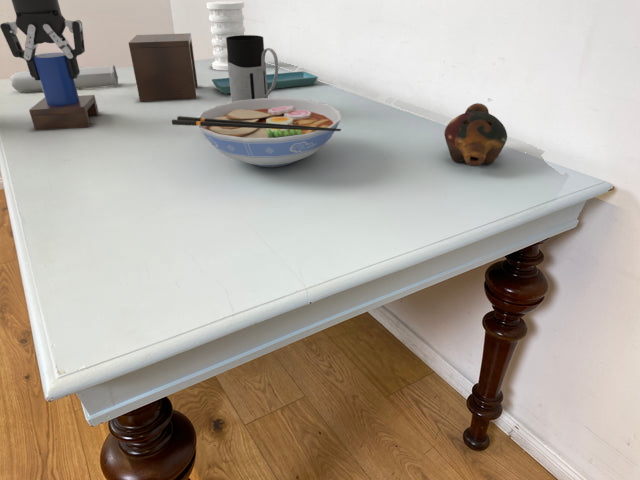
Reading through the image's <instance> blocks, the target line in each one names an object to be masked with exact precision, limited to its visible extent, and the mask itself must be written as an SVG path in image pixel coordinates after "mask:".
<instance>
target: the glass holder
mask: <svg viewBox="0 0 640 480" xmlns="http://www.w3.org/2000/svg"><path fill="white" fill-rule="evenodd" d="M226 42H227V53H228V56H227V61H228V71H227V72H228V78H229V81H230V91H231V93H230V103H231V102H235V101H240V100H250V99H260V98H269V96H270V94H271V93H272V92H273V91H274V90H275V89H274V87H275V84H276V81H277V77H278V73H279V60H278V59H279V58H278V55H277V53H276V51H275V50H274V48H270V47H266V48H265V44H264V43H265V42H264V37H263V36H261V35H257V34H256V35H255V34H244V35H239V36H231V37H227V38H226ZM268 51H269V52H270V53H271V55H272V56H273V59H274V60H273V61H274V73H273V74H274V79H273V83H272V86H271V88H270V89H268V90H267V76H266V75H267V64H266V54H267V52H268Z"/></svg>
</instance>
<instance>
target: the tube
mask: <svg viewBox="0 0 640 480" xmlns="http://www.w3.org/2000/svg"><path fill="white" fill-rule="evenodd" d="M79 70H80V73H79V75H78V77H77V78H76V79H74V81H75V85H76V89H88V88H103V87H118V86H119V77H118V73H117V69H116V66H115V64H111V65H104V66H88V67H79ZM10 82H11V87H12V88H13V89H14V90H15V91H17V92H19V93H34V92H43V89H42V85H41V82H40V80H35V78H34V77H32V76H31V75H30V72H29V70H28V71H27V70H25V71H16V72H15V73H13V74H12V75H10Z"/></svg>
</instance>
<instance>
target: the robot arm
mask: <svg viewBox="0 0 640 480" xmlns="http://www.w3.org/2000/svg"><path fill="white" fill-rule="evenodd" d="M11 3H12V7H13V11H14V13H15V21H11V22H9V21H6V22H3V23H0V30H1V32H2V35H3V37H4V39H5V41H6V43H7V46H8V48H9V49H10V52H11V54H12V56H13V57H14V58H20V59H23V60H25V62H26V65H27V68H28V71H29V72H30V75H31V76H32V77H34V78H35V80H40V78H39V75H38V72H37V68H36V65H35V61H34V58H33V56H35V55H36V52H37V48H38V45H41V44H44V43H46V44H55V45H56V47H58V49H60V50H61V51H62V53H64V54H65V55H66V56H67V58H68V59H66V60H67V64H68V67H69V71H70V75H71V78H72V79H76V78H77V77H78V75H79V73H80V70H79V68H80V67H79V63H78V59H77V57H78V56H81V55H82V54H84V53H85V52H86V49H85V48H86V47H85V40H84V39H85V38H84V30H83V22H82V21H81V20H80V19H76V20H71V19H70V20H69V19H66V18H65V17H64V16H63V13H62V11H61V7H60V3H59V0H11ZM66 27H67V28H68V31H69V32H70V33H71V34H72V35H73V43H74V48H73V47H72V45H71V44H70V42H69V41H68V39H67V37H66V36H65V35H64V34H63V33H64V31H65V29H66ZM18 29H19V30H20V31H21V32H22V33H23V34H24V35H25V36H26V39H25V43H24V49H23V47H22V45H21V43H20V40H19V38H18V36H17V34H18Z"/></svg>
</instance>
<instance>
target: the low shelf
mask: <svg viewBox="0 0 640 480" xmlns="http://www.w3.org/2000/svg"><path fill="white" fill-rule="evenodd" d="M78 97H79V101H78V102H77V103H74V104H69V105H62V106H51V105H48V104H47V102H46V99H45V97H43V98H42V99H41V100H39V101H38V102H37V103H36V104H34V105H33V106H32V107H31V108H29V115H30V118H31V121H32V124H33V127H34V131H44V130H45V131H47V130H60V129H61V130H62V129H77V128H89V127H91V121H90V117H94V116H98V115H99V113H100V112H99V108H98V104H97V99H96V95H95V94H87V95H86V94H85V95H78Z"/></svg>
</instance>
